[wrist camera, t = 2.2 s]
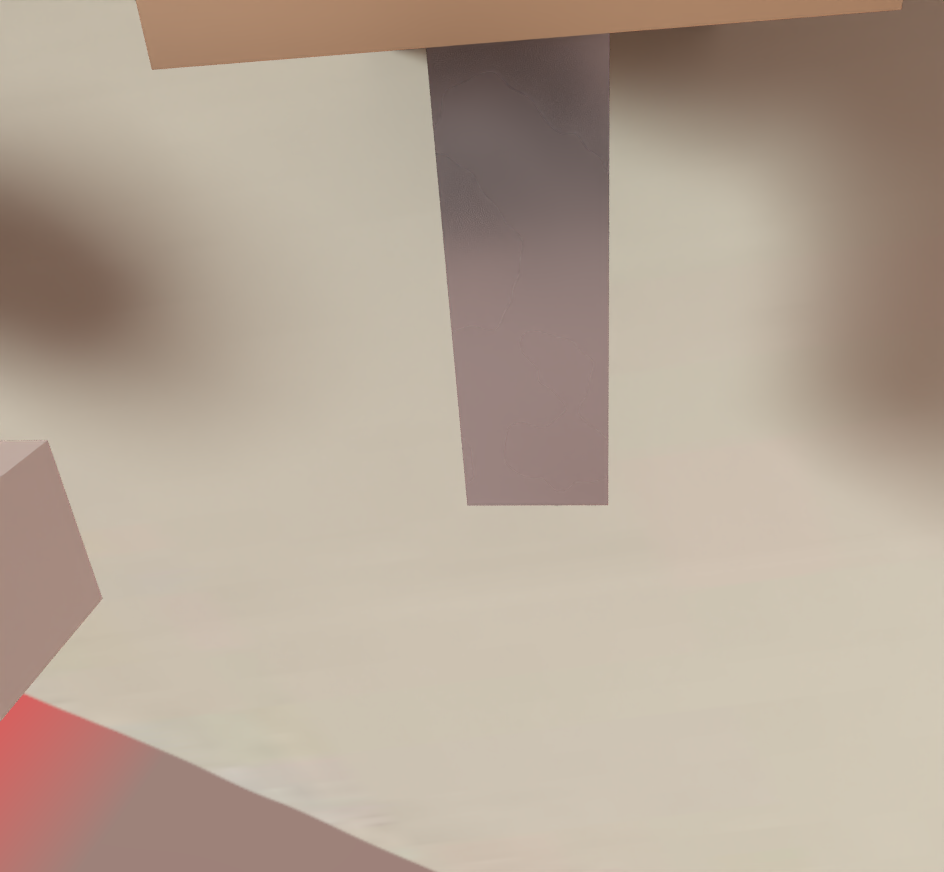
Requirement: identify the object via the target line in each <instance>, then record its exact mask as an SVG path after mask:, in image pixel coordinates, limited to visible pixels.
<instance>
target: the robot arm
mask: <svg viewBox="0 0 944 872" xmlns="http://www.w3.org/2000/svg"><path fill="white" fill-rule="evenodd" d="M101 600H102V596H101V593H100V590H99V587H98V584H97V581H96V578H95V576H94V573H93V570H92V567H91V564H90V561H89V558H88V555H87V553H86V550H85V547H84V544H83V541H82V538H81V535H80V532H79V529H78V527H77V524H76V521H75V518H74V515H73V512H72V509H71V506H70V503H69V501H68V498H67V495H66V492H65V489H64V486H63V483H62V480H61V477H60V475H59V472H58V469H57V466H56V463H55V460H54V457H53V454H52V452H51V449H50V446H49V443H48V440H21V441H0V721H1V720H2V719H3V718H4V716H5V715H6V714H7V712H9V710H10V709H11V708H12V707H13V706H14V704H15V703H16V702H17V700H19V698H20V697H21V696H22V695H23V694H24V692H25V691H26V690H27V689H28V688H29V686H30V685H31V684H32V683H33V682H34V680H35V679H36V678H37V677H38V676H39V674H40V673H41V672H42V671H43V669H44V668H45V667H46V666H47V665H48V663H49V662H50V661H51V660H52V659H53V657H54V656H55V655H56V654H57V653H58V651H59V650H60V649H61V648H62V647H63V645H64V644H65V643H66V642H67V641H68V639H69V638H70V637H71V636H72V635H73V633H74V632H75V631H76V630H77V629H78V627H79V626H80V625H81V624H82V623H83V621H84V620H85V619H86V618H87V617H88V615H89V614H90V613H91V612H92V611H93V609H94V608H95V607H96V606H97V605H98V603H99V602H100V601H101Z"/></svg>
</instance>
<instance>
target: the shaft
mask: <svg viewBox="0 0 944 872" xmlns="http://www.w3.org/2000/svg"><path fill="white" fill-rule="evenodd" d="M426 52H427V63H428V74H429V85H430V96H431V108H432V119H433V130H434V141H435V152H436V163H437V174H438V185H439V196H440V207H441V218H442V229H443V240H444V251H445V262H446V273H447V284H448V296H449V307H450V318H451V329H452V340H453V351H454V362H455V373H456V384H457V395H458V406H459V417H460V428H461V439H462V450H463V461H464V473H465V484H466V495H467V505H608V367H609V55H610V33H604V34H591V35H579V36H566V37H554V38H542V39H529V40H517V41H504V42H492V43H479V44H467V45H454V46H442V47H429V48H426Z"/></svg>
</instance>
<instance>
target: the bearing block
mask: <svg viewBox="0 0 944 872" xmlns="http://www.w3.org/2000/svg"><path fill="white" fill-rule="evenodd" d="M902 2H903V0H136V3H137V8H138V12H139V16H140V21H141V25H142V29H143V33H144V38H145V42H146V46H147V51H148V55H149V59H150V63H151V68H152V70H154V69H167V68H179V67H192V66H204V65H217V64H229V63H242V62H254V61H267V60H279V59H292V58H304V57H317V56H329V55H342V54H354V53H367V52H379V51H392V50H404V49H417V48H429V47H442V46H454V45H467V44H479V43H492V42H504V41H517V40H529V39H542V38H554V37H566V36H579V35H591V34H604V33H616V32H629V31H641V30H654V29H666V28H679V27H691V26H704V25H716V24H729V23H741V22H754V21H766V20H779V19H791V18H804V17H816V16H829V15H841V14H854V13H866V12H879V11H891V10H901V9H902Z"/></svg>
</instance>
